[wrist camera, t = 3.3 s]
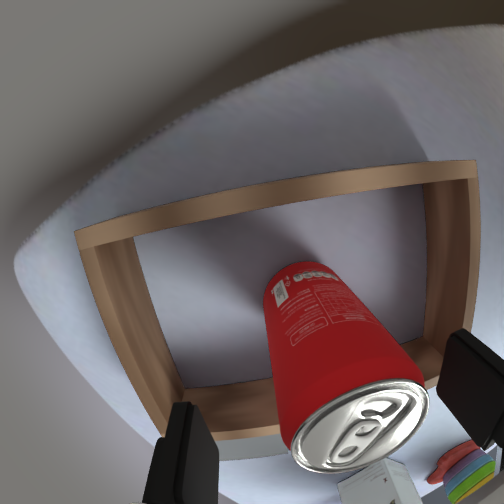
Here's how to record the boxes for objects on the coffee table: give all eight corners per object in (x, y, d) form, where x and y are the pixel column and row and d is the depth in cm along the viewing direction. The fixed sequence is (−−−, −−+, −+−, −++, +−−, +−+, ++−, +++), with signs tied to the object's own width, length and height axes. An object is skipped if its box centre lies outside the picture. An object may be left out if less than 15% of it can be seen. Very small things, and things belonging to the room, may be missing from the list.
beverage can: (349, 269, 18) (461, 377, 6) (320, 335, 19) (381, 473, 8) (277, 246, 18) (332, 362, 6) (251, 317, 19) (259, 474, 7)
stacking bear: (440, 454, 26) (484, 532, 9) (486, 426, 26) (533, 491, 8) (423, 483, 28) (455, 550, 11) (467, 459, 28) (502, 518, 11)
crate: (429, 161, 16) (475, 160, 11) (430, 342, 20) (460, 373, 15) (114, 217, 17) (73, 231, 12) (177, 398, 21) (165, 442, 16)
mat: (276, 399, 21) (277, 402, 20) (287, 450, 23) (288, 453, 22) (183, 410, 21) (182, 413, 21) (209, 458, 23) (209, 461, 22)
